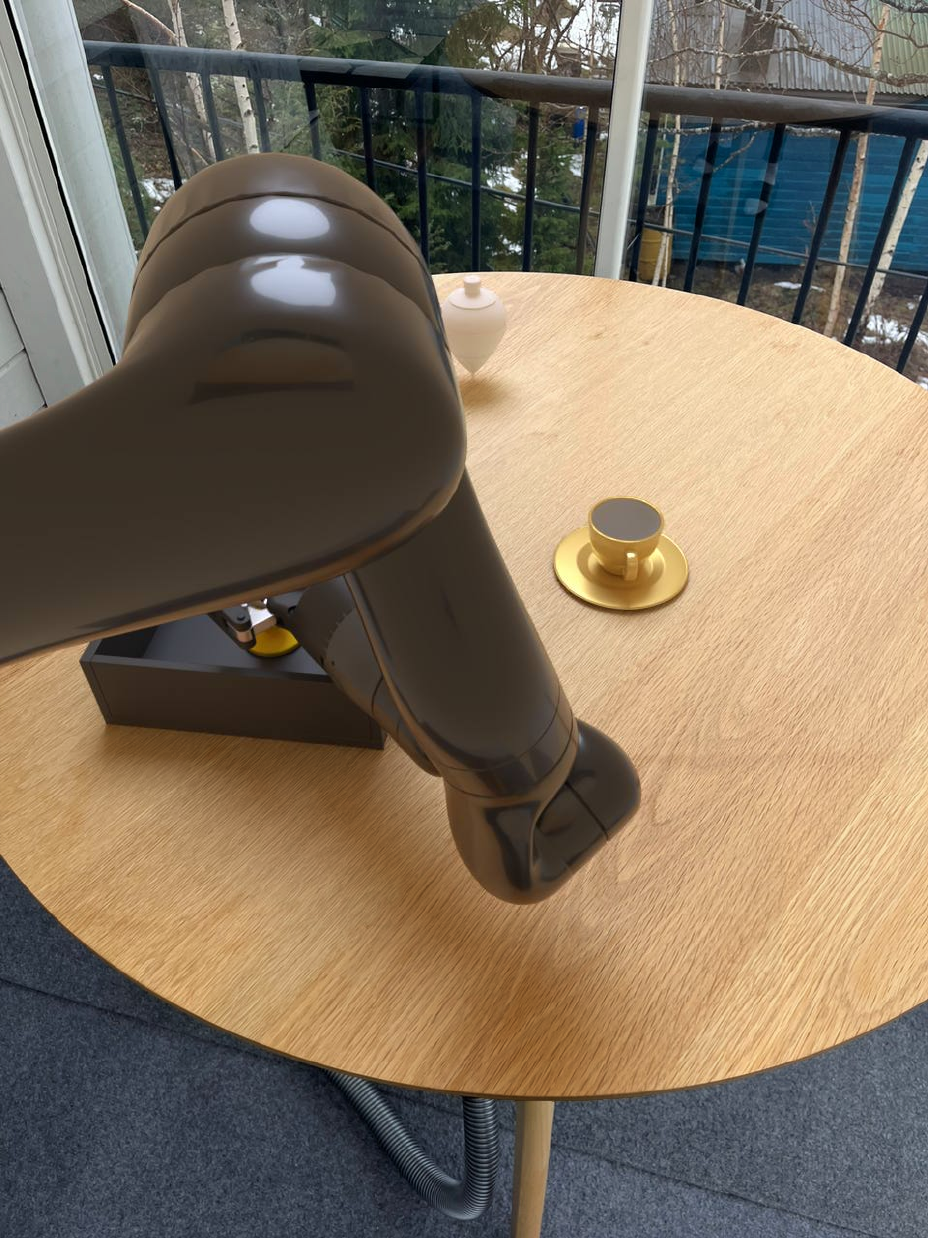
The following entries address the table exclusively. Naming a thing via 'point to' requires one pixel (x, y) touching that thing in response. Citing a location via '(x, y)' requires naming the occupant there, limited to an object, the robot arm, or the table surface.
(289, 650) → the candle
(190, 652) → the bin
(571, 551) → the cup
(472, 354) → the spinning top
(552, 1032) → the table surface
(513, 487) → the table surface
